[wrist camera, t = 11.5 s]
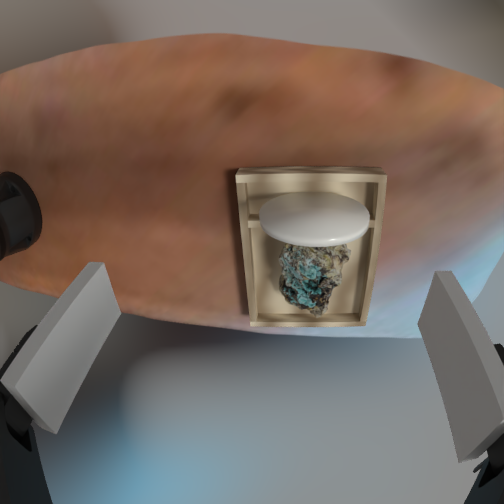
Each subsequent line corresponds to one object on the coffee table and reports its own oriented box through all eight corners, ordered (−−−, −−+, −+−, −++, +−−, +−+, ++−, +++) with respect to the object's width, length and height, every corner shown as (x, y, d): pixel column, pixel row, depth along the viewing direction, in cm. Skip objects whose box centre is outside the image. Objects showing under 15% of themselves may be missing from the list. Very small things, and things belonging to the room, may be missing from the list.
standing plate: (264, 199, 41) (253, 247, 30) (263, 192, 40) (253, 237, 30) (358, 199, 39) (379, 246, 29) (358, 191, 39) (381, 237, 28)
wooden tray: (252, 313, 52) (250, 326, 50) (239, 168, 40) (235, 175, 37) (362, 313, 50) (365, 326, 47) (380, 167, 37) (387, 174, 35)
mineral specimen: (284, 219, 41) (274, 270, 36) (355, 229, 39) (355, 282, 35) (280, 274, 50) (271, 319, 46) (338, 282, 49) (334, 328, 44)
